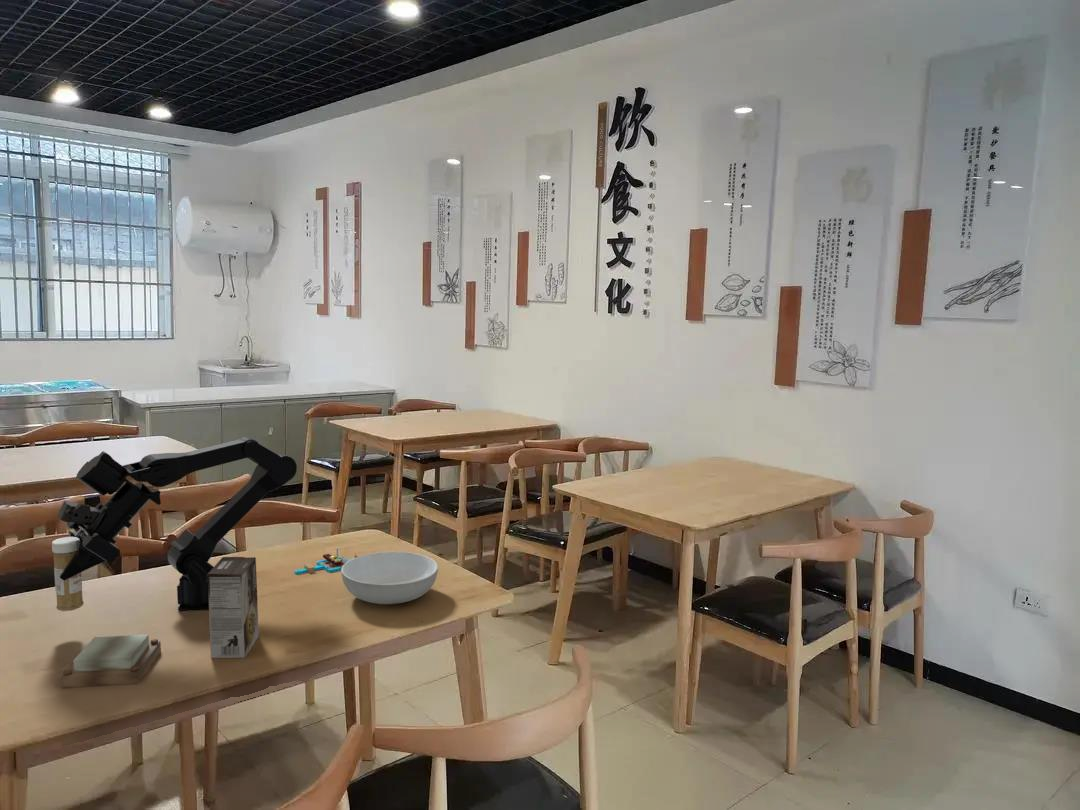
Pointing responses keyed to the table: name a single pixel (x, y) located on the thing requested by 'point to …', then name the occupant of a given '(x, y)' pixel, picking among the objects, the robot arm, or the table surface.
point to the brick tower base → (113, 674)
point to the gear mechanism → (326, 564)
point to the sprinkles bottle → (72, 587)
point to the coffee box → (233, 607)
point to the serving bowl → (389, 576)
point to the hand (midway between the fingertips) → (59, 575)
